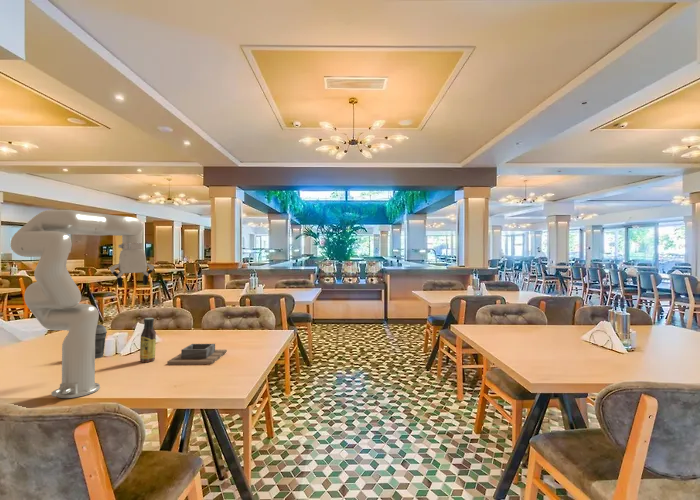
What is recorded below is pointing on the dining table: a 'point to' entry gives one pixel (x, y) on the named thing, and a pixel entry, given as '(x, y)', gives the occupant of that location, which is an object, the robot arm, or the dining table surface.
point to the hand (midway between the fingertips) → (133, 285)
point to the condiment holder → (197, 355)
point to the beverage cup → (100, 341)
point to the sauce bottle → (148, 341)
